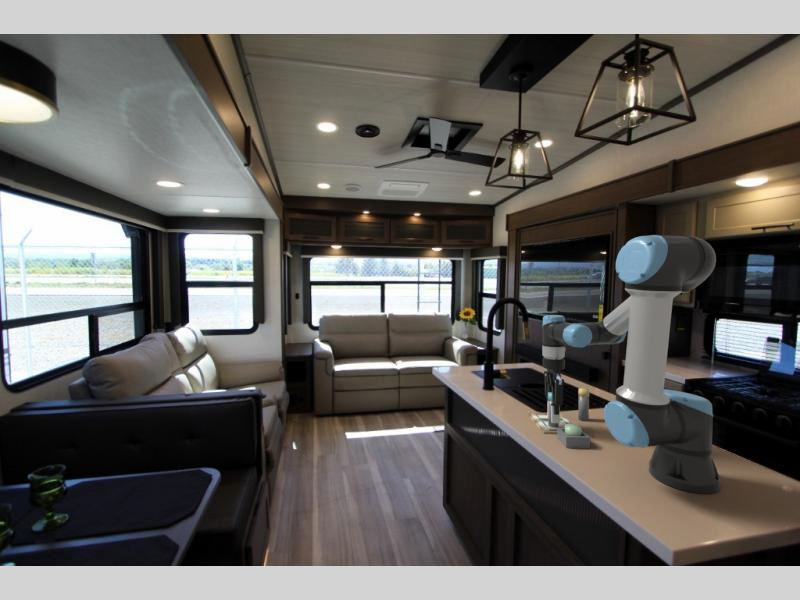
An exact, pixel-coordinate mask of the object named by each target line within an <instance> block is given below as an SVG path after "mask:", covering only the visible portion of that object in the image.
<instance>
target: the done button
mask: <svg viewBox="0 0 800 600" xmlns="http://www.w3.org/2000/svg"><path fill="white" fill-rule="evenodd" d="M582 431H583V430H582V426H581V425H579V424H575V423H572V424H566V425H565V434H566V435H567V436H582Z"/></svg>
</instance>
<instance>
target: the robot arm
mask: <svg viewBox="0 0 800 600" xmlns="http://www.w3.org/2000/svg"><path fill="white" fill-rule="evenodd" d="M716 263H717V255H716V252H715V250H714V248H713V247H712V245H711V244H710V243H709V242H708V241H706V240H704V239H703V238H699V237H697V236H693V235H681V236H680V235H677V236H676V235H661V234H659V235H658V234H652V235H641V236H637V237H634V238H632V239H630V240H628V241H627V242H626V244H625V245H623V246H622V247H621V249H620V250H619V252H618V254H617V257H616V259H615V271H616V274H618V278H619V279H620V280H621V281H623V282H624V283H625V285H624V290H625V292H627V293H628V294H629V295H630V296H629V297H628V298H626V299H625V300H624V301H623V302H622V303H620V305H618V306H617V307H616V308H615V309H613V310H612V311H611V312H610V313H609V314H607V315H606V316H605V317H604V318H603V319H601V320H600V321H597V322H578V323H577V322H566V318H565V316H564V315H561V314H560V315H558V314H546V315H544V316H543V317H542V325H541V326H542V345H541V346H542V355H541V356H542V367H543V369H545V370H544V371H543V374H544V375H543V376H544V396H545V398H546V401H547V402H548V392H552V404H551V422H552V423H560V414H561V412H560V411H561V409H560V408H561V406H562V407H563V405H564V404H563V402H564V384H565V379H563V378H562V374H561V370H564V369H565V367H566V359H565V357H566V355H565V353H566V350H567V349H566V346H570V347H573V348H585V347H587V346H592V345H593V346H595V345H615V344H620V343H622V342H624V341H625V338H626V336H627V342H626V343H627V344H626V351H625V352H626V354H625V362H624V363H625V364H624V373H623V374H624V375H623V383H622V384H623V385H621V386H619V387H618V388H616V390H615V400H611V401H609V402H608V403H607V404H605V406H604V409H603V418H604V422H605V425H606V427H607V430H608V431H609V433H610V434H611V436H612V437H613V438H614V439H615V441H617V442H618V443H620V444H621V445H622V446H625V447H627V448H640V449H644V448H646V447H647V448H648V447H654V446H655V447H654V450H653V451H652V452H653V453H652V454H651V458H650V459H649V461H648V471H649V473H650V475H651V476H652V477H653V478H654V479H655V480H657V481H659V482H660V483H662V484H665V485H667V486H669V487H672V488H674V489H677V490H679V491H685V492H688V493H689V492H690V493H693V494H694V493H695V494H703V495H704V494H715V493H717V492H719V491H720V490H721V478H720V475H719V472H718V470H717V467H716V464H715V461H714V459H713V455H712V453H713V418H714V414H713V404H712V403H711V402H710V400H709V399H707V398H705V397H702V396H699V395H697V394H692V393H688V392H684V391H679V390H671V389H664V388H665V380H666V379H665V378H666V369H667V368H666V367H667V362H668V360H667V358H668V350H669V341H670V340H669V338H670V331H671V321H672V320H671V319H672V313H673V312H672V310H673V302H674V301H673V300H674V299H675V297H676V296H678V295H680V294H681V293H682V294H683V293H684V294H685V293H686V294H687V293H689V292H691V291H693V290H694V289H695V288H697V287H698V286H700V285H701V284H702V283H703V282H705V281H706V280H707V279H708V277H710V276H711V274H712V273H713V271H714V270H715V267H716Z"/></svg>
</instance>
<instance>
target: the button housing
mask: <svg viewBox="0 0 800 600" xmlns="http://www.w3.org/2000/svg"><path fill="white" fill-rule="evenodd" d="M556 436H557V439H558V441H559V440H560V441H561V444H562V445H563V446H564V448H566V449H590V448H591V437H590V435H588V434H587V433H586V432H584V430H582V436H567V435H566V434H565V428H557V434H556ZM560 441H559V442H560Z"/></svg>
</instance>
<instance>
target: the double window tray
mask: <svg viewBox="0 0 800 600" xmlns="http://www.w3.org/2000/svg"><path fill="white" fill-rule="evenodd" d="M528 417H529V418H530V419H531V420H532V422H533V423H534V424H535V425H536V426H537V427H538V428H539V430H540V431H541V432H542V433H543V434H550V435H551V434H552V435H553V434H554V435H555V434H556V435H557V428H565V425H566V424H573V423H572V422H571V421H570V420H569V419H568V418H567V417H566V416H564V414H562V413H560V423H559V427H556V428H555V427H550V426H548V412H547V413H544V412H543V413H542V412H541V413H540V412H538V413H536V412H535V413H528Z"/></svg>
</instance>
